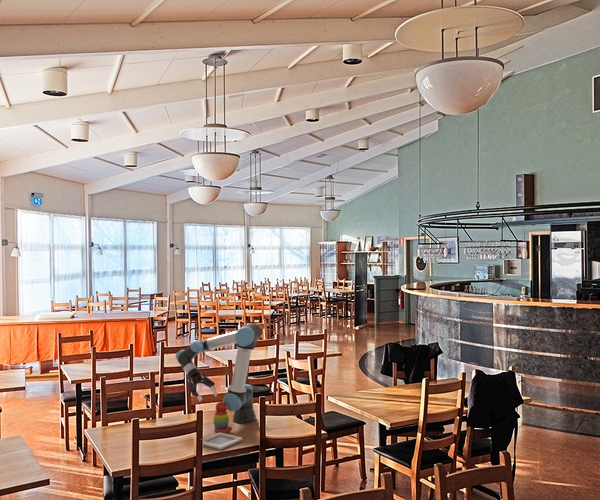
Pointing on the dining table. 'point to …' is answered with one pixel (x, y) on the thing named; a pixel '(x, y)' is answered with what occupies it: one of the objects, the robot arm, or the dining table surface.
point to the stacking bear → (221, 418)
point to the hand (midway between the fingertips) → (209, 397)
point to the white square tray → (221, 441)
